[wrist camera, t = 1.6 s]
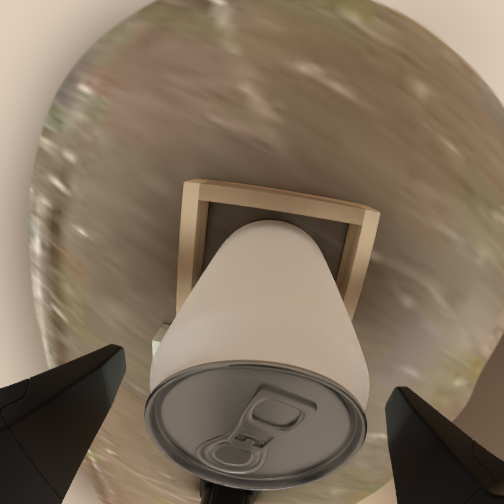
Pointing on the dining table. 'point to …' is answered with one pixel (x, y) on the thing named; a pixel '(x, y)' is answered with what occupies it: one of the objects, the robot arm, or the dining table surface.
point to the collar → (205, 190)
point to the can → (260, 368)
